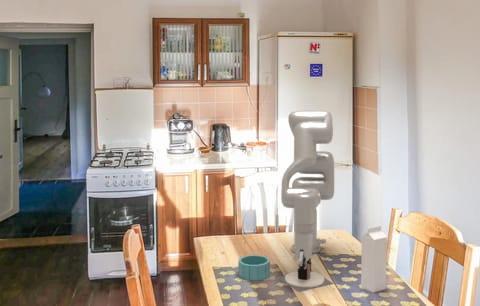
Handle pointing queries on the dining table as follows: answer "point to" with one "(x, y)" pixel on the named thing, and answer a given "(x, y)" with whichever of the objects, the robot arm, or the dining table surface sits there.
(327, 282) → the mat
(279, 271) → the dining table surface
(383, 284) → the milk
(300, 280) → the lid
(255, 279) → the bowl
